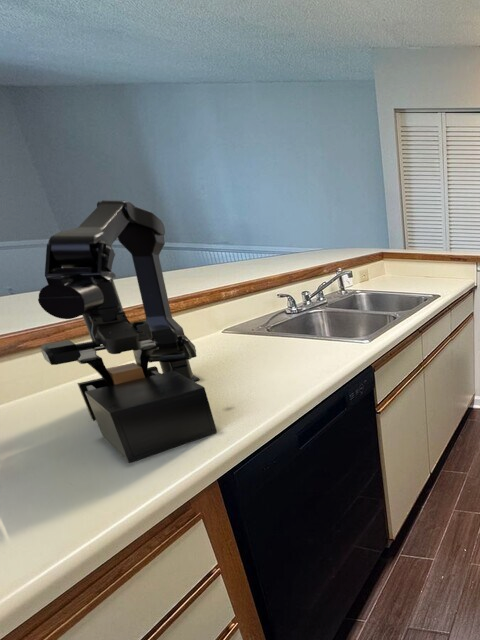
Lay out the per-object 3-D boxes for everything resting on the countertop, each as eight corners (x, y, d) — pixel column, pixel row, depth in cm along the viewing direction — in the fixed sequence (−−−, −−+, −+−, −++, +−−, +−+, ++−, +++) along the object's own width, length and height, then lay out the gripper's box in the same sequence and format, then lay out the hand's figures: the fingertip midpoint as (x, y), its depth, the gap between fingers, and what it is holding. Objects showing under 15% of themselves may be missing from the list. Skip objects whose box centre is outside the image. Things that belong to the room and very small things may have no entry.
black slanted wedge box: (103, 437, 80) (84, 391, 76) (186, 412, 90) (173, 370, 86) (129, 463, 72) (109, 413, 68) (217, 432, 82) (204, 387, 79)
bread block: (112, 389, 84) (104, 368, 82) (141, 383, 87) (133, 362, 85) (120, 395, 81) (112, 373, 80) (148, 388, 85) (141, 367, 83)
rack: (90, 417, 85) (75, 381, 82) (163, 397, 95) (153, 364, 92) (112, 439, 77) (97, 400, 74) (190, 415, 87) (180, 380, 84)
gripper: (38, 323, 66) (76, 411, 72) (177, 304, 81) (199, 379, 87) (24, 313, 72) (59, 395, 78) (156, 297, 87) (178, 368, 93)
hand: (129, 384), depth 84 cm, fingers closed on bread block, 4 cm apart
